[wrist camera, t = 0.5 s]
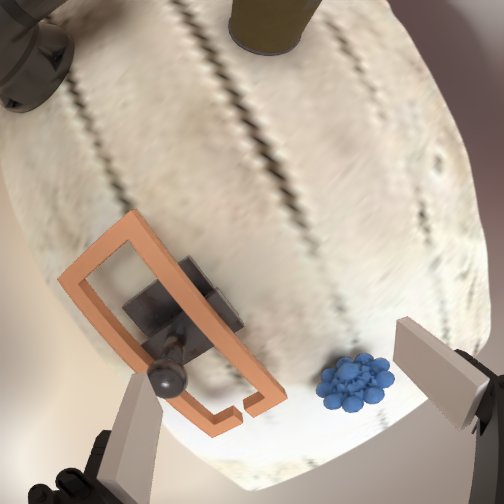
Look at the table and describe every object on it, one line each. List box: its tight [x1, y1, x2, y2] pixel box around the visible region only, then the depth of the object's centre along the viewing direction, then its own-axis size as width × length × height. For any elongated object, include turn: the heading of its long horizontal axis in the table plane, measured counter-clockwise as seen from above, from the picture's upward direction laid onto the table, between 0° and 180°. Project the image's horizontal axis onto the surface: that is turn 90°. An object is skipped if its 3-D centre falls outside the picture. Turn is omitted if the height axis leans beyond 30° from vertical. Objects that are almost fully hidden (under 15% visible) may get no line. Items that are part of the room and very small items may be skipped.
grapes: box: [316, 353, 395, 413], centre depth 37 cm, size 12×7×12 cm, turn 122°
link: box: [57, 209, 288, 438], centre depth 30 cm, size 28×12×2 cm, turn 35°
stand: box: [122, 255, 244, 399], centre depth 30 cm, size 12×15×17 cm
